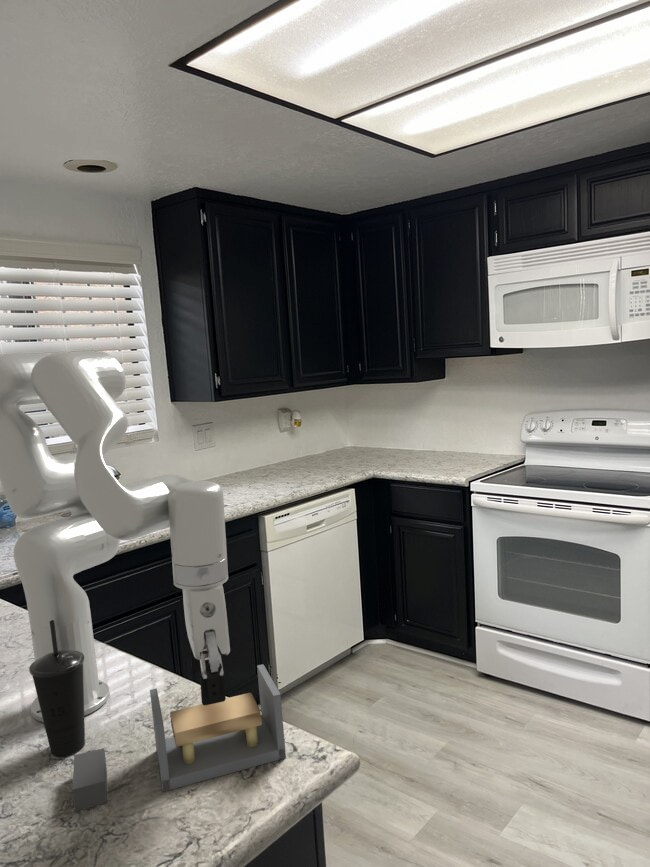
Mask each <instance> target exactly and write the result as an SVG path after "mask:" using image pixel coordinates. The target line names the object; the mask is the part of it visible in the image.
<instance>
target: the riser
mask: <svg viewBox="0 0 650 867" xmlns="http://www.w3.org/2000/svg"><path fill="white" fill-rule="evenodd" d="M73 756H74V758H73V770H72V771H73V772H72V788H71V789H72V790H71V791H72V798H73V806H74V812H77V811H81V810H84V809H89V808H92V807H96V806H99V805H102V804H106V803H108V768H107V767H108V765H107V759H106V750H105V747H104V748H99V749H94V750H91V751H87V752H83V753H79V754H75V755H74V754H73Z"/></svg>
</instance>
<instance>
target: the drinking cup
mask: <svg viewBox="0 0 650 867" xmlns="http://www.w3.org/2000/svg"><path fill="white" fill-rule="evenodd" d="M49 622H50V630H51V638H52V646H53V652H51V653H49V654H47V655H45V656H43V657H41V658H39V659H37V660H36V661H35V660H33V662H32V663H31V664H30V666H28V667H29V668H28V669H29V670H28V671H29V674H30V675H31V676H32V680H33V683H34V687H35V692H36V698H37V697H38V701H39V705H40V709H41V713H42V717H43V721H44V722H43V725H44V726H43V727H44V729H45V734H46V738H47V741H48V746H49V749H50V753H51V755H52V756H53V757H56V758H65V757H69V756H72V755H74V754H75V755H76V753H79V752H80V751H81V750H83V748H84V747H85V745H86V734H85V733H86V732H85V726H86V724H85V716H84V685H83V662H84V659H85V658H84V654H83V653H81V652H79V651H72V650H60V651H58V645H57V637H56V630H55V622H54V620H51V621H49Z"/></svg>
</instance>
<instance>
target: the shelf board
mask: <svg viewBox="0 0 650 867" xmlns="http://www.w3.org/2000/svg"><path fill="white" fill-rule="evenodd" d="M169 714H170V716H169V717H170V725H171V729H172V733H173V734H172V735H173V737H174V739H175V744H176V747H179V746H182V745H186V744H190V743H194V742H198V741H202V740H206V739H210V738H213V737H217V736H221V735H225V734H229V733H233V732H237V731H241V730H244V729H248V728H252V727H256V726H260V725H262V721H261V708H259V705H258V704H257V702H256V699H255V697H254V696H253V693H252V692H247V693H243V694H239V695H235V696H230V697H227V698H226V699H225V701H223V702H219V703H214V704H210V705H203V704H202V703H201V704H197V705H192V706H189V707H184V708H179V709H176V710H172V711H170V712H169Z"/></svg>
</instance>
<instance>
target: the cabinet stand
mask: <svg viewBox="0 0 650 867" xmlns="http://www.w3.org/2000/svg"><path fill="white" fill-rule="evenodd" d="M256 668H257V671H256V672H257V680H258V690H259V693H258V694H259V703H260V711H261V721H262V725H260V726H256V727H252V728H248V729H244V730H241V731H237V732H233V733H229V734H225V735H221V736H217V737H213V738H210V739H206V740H202V741H198V742H194V743H190V744H186V745H182V746H179V747H176V744H175V739H174V736H171V737H168V738H166V735H165V727H164V725H165V724H164V719H163V714H162V709H161V703H160V697H159V693H158V689H157V688H153V689H150V690H149V694H150V705H151V714H152V722H153V723H152V724H153V732H154V738H155V739H154V741H155V749H156V750H155V751H156V755H157V762H158V768H159V770H158V771H159V774H160V775H159V776H160V781H161V789H162V793H163V792H164V793H165V792H167V791H170V790H174V789H178V788H183V787H185V786H189V785H192V784H196V783H199V782H203V781H207V780H210V779H215V778H218V777H222V776H225V775H229V774H232V773H236V772H240V771H244V770H247V769H250V768H254V767H258V766H261V765H265V764H268V763H272V762H276V761H279V760H283V759H286V758H287V754H286V744H285V732H284V720H283V719H284V718H283V709H282V698H281V696H282V695H281V693H280V691H279V689H278V687H277V685H276V683H275V682H274V680H273V679H272V676H271V675H270V673H269V672H268V670H267V668H266V666H265V665H264V663H263V664H257V665H256Z"/></svg>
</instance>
